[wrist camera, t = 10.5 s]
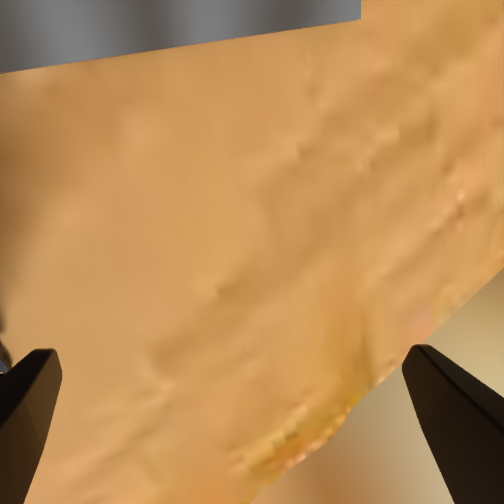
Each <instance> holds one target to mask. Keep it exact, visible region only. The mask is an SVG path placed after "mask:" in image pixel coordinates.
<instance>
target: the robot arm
mask: <svg viewBox="0 0 504 504" xmlns="http://www.w3.org/2000/svg"><path fill="white" fill-rule="evenodd" d="M3 352H4V351H3V349H2V347H1V346H0V372H4V373H3V374H0V504H23V503H24V501H25V498H26V495H27V493H28V490H29V488H30V485H31V482H32V480H33V477H34V474H35V472H36V469H37V466H38V464H39V461H40V458H41V455H42V453H43V450H44V446H45V443H46V439H47V435H48V432H49V428H50V424H51V420H52V416H53V412H54V409H55V405H56V401H57V397H58V393H59V389H60V386H61V382H62V369H61V366H60V362H59V358H58V355H57V352H56V350H55V349H52V348H47V349H35V350H33V351H31V352H30V353H29V354H28V355H27V356H25V357H24V358H23V359H22V360H21V361H19V362H18V363H17V364H16V365H15V366H14V367H11V365H10V364H9V363H8V361H7V360H6V358H5V357H4V356H3ZM402 373H403V376H404V379H405V382H406V385H407V388H408V391H409V394H410V397H411V400H412V403H413V406H414V409H415V412H416V415H417V418H418V420H419V423H420V426H421V429H422V431H423V433H424V436H425V438H426V440H427V443H428V445H429V447H430V449H431V452H432V454H433V456H434V458H435V461H436V463H437V465H438V467H439V470H440V472H441V474H442V476H443V479H444V481H445V483H446V485H447V488H448V490H449V492H450V494H451V496H452V499H453V501H454V503H455V504H504V398H503V397H502V396H501V395H499V394H498V393H496V392H495V391H494V390H492V389H491V388H489V387H488V386H487V385H485V384H483V383H482V382H481V381H480V380H478V379H477V378H475V377H474V376H473V375H471V374H470V373H468V372H467V371H466V370H464V369H463V368H461V367H460V366H458V365H457V364H456V363H454V362H453V361H452V360H450V359H449V358H447V357H446V356H445V355H443V354H442V353H440V352H439V351H438V350H436V349H435V348H433V347H432V346H430V345H427V344H416V345H413V346H412V347H411V349H410V350H409V352H408V354H407V356H406V358H405V360H404V362H403V364H402Z"/></svg>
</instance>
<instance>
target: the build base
mask: <svg viewBox="0 0 504 504" xmlns="http://www.w3.org/2000/svg"><path fill="white" fill-rule="evenodd" d="M358 19H361V0H0V74H1V73H7V72H14V71H21V70H27V69H34V68H41V67H47V66H54V65H61V64H67V63H74V62H81V61H87V60H94V59H101V58H107V57H114V56H121V55H127V54H134V53H141V52H147V51H154V50H161V49H167V48H174V47H181V46H187V45H194V44H201V43H207V42H214V41H221V40H227V39H234V38H241V37H247V36H254V35H261V34H267V33H274V32H281V31H287V30H294V29H301V28H307V27H314V26H321V25H327V24H334V23H341V22H347V21H354V20H358Z"/></svg>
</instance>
